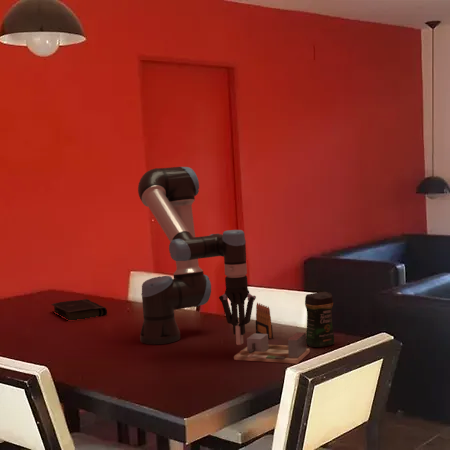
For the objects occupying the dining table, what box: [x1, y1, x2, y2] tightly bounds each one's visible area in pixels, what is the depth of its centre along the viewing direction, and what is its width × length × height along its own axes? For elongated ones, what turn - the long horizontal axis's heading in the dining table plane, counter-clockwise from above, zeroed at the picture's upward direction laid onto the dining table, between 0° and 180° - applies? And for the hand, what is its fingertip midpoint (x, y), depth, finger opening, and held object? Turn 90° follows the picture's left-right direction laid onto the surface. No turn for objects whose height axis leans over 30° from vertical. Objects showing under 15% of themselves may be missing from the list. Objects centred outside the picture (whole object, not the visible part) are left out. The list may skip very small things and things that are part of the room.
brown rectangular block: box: [287, 331, 307, 358], centre depth 245 cm, size 3×10×6 cm, turn 157°
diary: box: [51, 298, 108, 320], centre depth 333 cm, size 19×25×5 cm
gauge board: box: [233, 344, 311, 365], centre depth 248 cm, size 22×14×2 cm, turn 67°
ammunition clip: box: [255, 302, 274, 340], centre depth 276 cm, size 11×2×12 cm, turn 24°
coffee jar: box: [304, 291, 335, 348], centre depth 258 cm, size 10×8×19 cm
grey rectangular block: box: [246, 332, 269, 353], centre depth 248 cm, size 5×11×5 cm, turn 157°
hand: (239, 343), depth 253 cm, fingers closed
